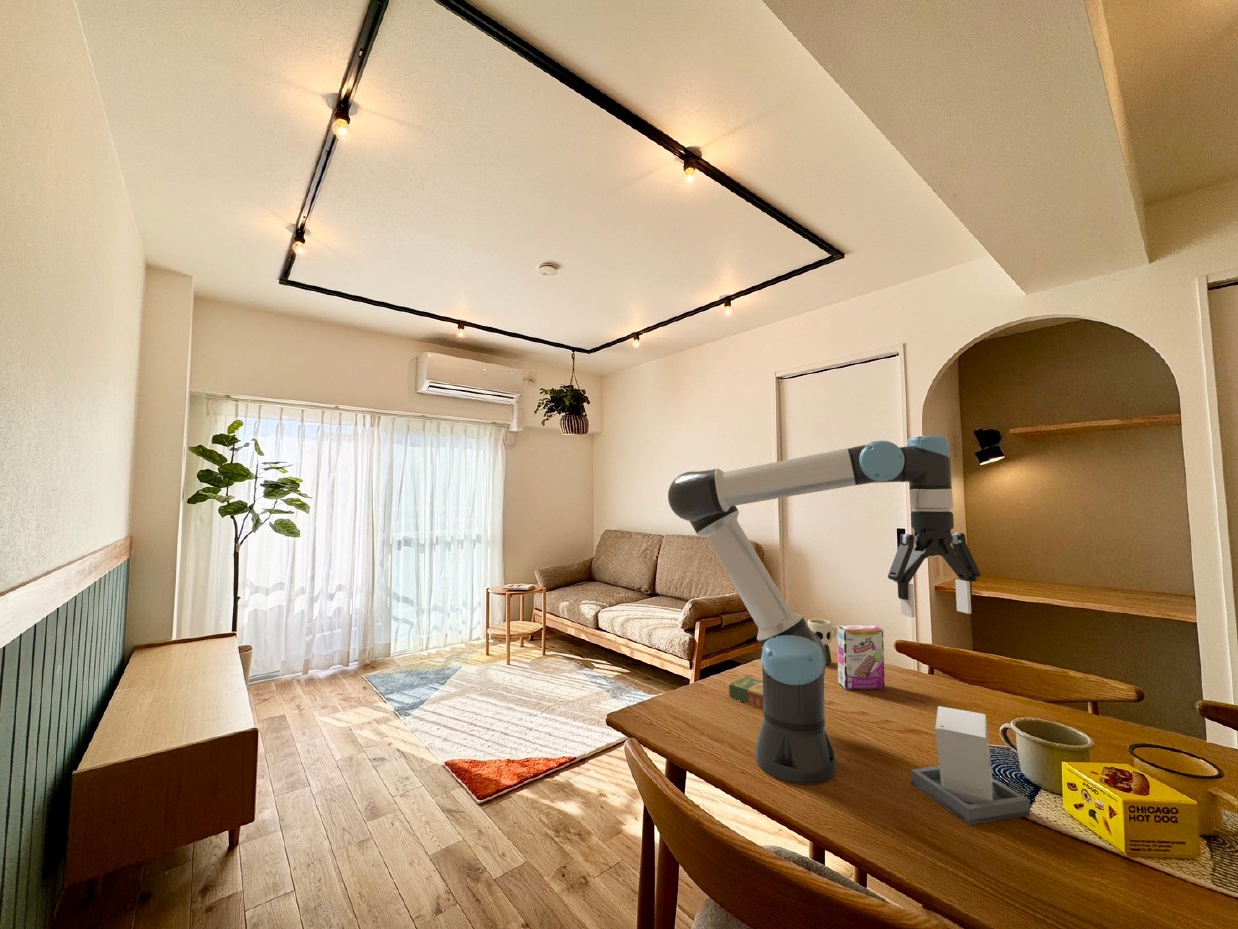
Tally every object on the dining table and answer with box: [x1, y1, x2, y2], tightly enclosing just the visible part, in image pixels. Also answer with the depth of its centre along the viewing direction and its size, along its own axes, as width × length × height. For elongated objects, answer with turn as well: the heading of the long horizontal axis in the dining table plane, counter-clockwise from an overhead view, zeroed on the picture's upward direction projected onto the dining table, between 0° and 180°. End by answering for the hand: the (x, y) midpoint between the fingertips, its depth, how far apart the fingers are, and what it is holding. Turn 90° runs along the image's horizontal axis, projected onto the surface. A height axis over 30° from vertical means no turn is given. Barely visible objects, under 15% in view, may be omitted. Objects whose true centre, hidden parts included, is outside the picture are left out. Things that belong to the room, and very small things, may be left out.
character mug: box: [807, 618, 837, 665], centre depth 159 cm, size 11×7×13 cm, turn 93°
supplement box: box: [934, 705, 994, 804], centre depth 87 cm, size 7×7×13 cm
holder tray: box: [910, 765, 1031, 826], centre depth 87 cm, size 12×12×2 cm
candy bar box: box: [836, 624, 885, 691], centre depth 139 cm, size 11×5×16 cm, turn 92°
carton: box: [728, 676, 763, 710], centre depth 128 cm, size 8×16×4 cm, turn 43°
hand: (936, 614), depth 102 cm, fingers open, 13 cm apart
